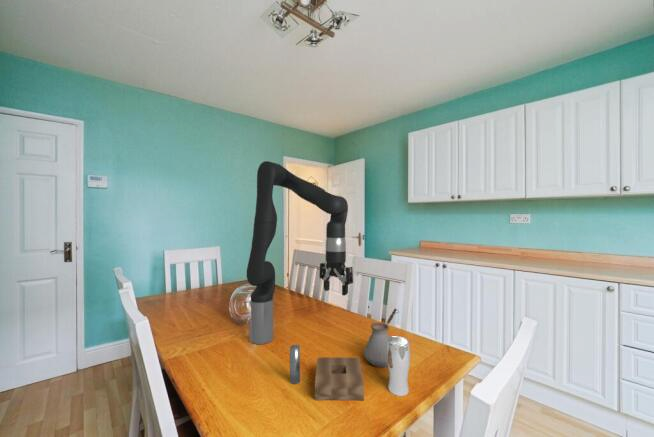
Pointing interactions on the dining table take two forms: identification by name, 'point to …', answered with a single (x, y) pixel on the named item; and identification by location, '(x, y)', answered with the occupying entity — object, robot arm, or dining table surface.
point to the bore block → (339, 379)
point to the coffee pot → (378, 343)
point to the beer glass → (398, 364)
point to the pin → (294, 364)
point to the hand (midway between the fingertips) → (335, 292)
